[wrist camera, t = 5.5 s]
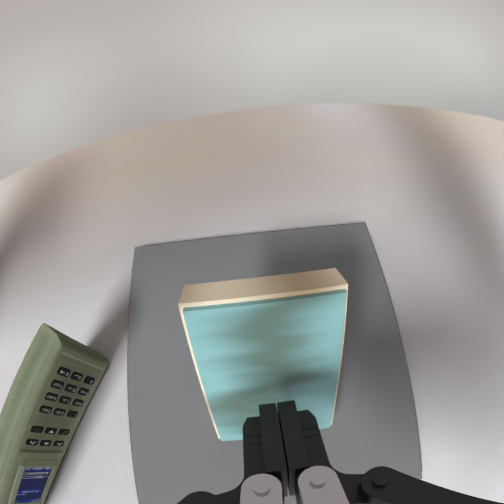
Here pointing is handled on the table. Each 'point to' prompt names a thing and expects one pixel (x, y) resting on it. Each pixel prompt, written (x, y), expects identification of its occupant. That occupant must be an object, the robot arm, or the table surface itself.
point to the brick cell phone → (44, 413)
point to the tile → (266, 344)
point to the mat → (188, 386)
